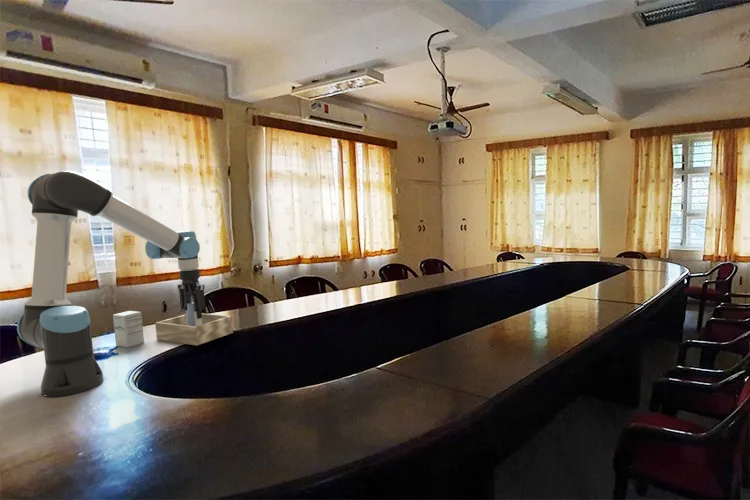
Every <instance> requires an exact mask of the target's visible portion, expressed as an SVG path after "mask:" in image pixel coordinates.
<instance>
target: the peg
mask: <svg viewBox="0 0 750 500" xmlns="http://www.w3.org/2000/svg"><path fill="white" fill-rule="evenodd" d="M194 310H195V307H194V303H193V301H191V303H187V311H188V321H189V326H195V317H194Z"/></svg>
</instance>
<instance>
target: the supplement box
mask: <svg viewBox="0 0 750 500" xmlns="http://www.w3.org/2000/svg"><path fill="white" fill-rule="evenodd" d="M112 318H113V319H112V321H113V327H114V328H113V329H114V337H115V339H114V340H115V346H116V347H124V348H131V347H135V346H137V345H141V344H143V343H145V339H144V338H145V337H144V327H143V325H144V324H143V317H142V312H141V311H135V310H127V311H122V312H118V313H114V314H112Z"/></svg>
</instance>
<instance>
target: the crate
mask: <svg viewBox="0 0 750 500" xmlns="http://www.w3.org/2000/svg"><path fill="white" fill-rule="evenodd" d="M233 323H234V322H233V316H232V315H223V314H222V315H221V314H216V313H215V314H213V313H203V312H202V325H199V326H187V319H186V314H182V315H179V316H175V317H171V318H168V319H164V320H161V321H160V320H159V321H156V322H155V323H154V324H155V333H156V340H157V341H163V342H164V341H165V342H170V343H171V342H172V343H177V344H178V343H179V344H183V343H184V344H185V345H190V346H191V345H192V346H199V345H202V344H205V343H208V342H210V341H214V340H216V339H219V338H222V337H224V336H229V335H230V334H233V333H234V325H233Z"/></svg>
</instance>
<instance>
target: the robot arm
mask: <svg viewBox="0 0 750 500" xmlns="http://www.w3.org/2000/svg"><path fill="white" fill-rule="evenodd" d="M27 198H28V200H29V202H30V204H31V205H32V206H31V215H32V217H33V218H35V219H36V235H35V248H34V249H35V251H34V260H33V261H34V262H33V275H32V284H31V285H32V287H31V297H30V299H28V300H27V301H26V302H25V303H24V306H23V307H24V309H23V314H22V315H21V316H20V317H19V319H18V321H17V324H16V331H17V335H19V337H20V339H21V340H22V341H23V342H25V343H26V344H28V345H30V346H32V347H37V348H41V349H43V354H44V362H45V369H44V373H43V376H42V380H41V385H40V391H41V395H42V394H43V395H46V396H58V397H64V396H63V395H65V396H69V395H70V394H71V395H75V394H79V393H83V392H86V391H87V390H90V389H93V388H96V387H97V386H99V385H101V384H102V383H103V382H104V373H103V371H102V369H101V367H100V365H99V364H98V362H97V360H96V358H95V354H94V346H93V345H94V344H93V337H92V329H91V317H90V315H89V311H88V309H87V308H86V307H84V306H80V305H79V306H78V305H72V302H71V301H70V300H69V299H67V285H68V273H69V272H68V270H69V256H70V245H71V244H70V242H71V233H72V232H71V231H72V223H73V222H74V221H76V220H77V219H78V216H79V215H78V214H79V211H80V212H84V213H85V214H88V215H90V216H91V217H98V216H99V217H101V218H103V219H105V220H107V221H108V222H111V223H112V224H114V225H116V226H118V227H121V228H122V229H124V230H126V231H128V232H129V233H132V234H134V235H136V236H137V237H139V238H142V239H143V240H145V241H147V242H146V243H145V248H144V249H145V254H146V256H147V257H148V258H149V259H151V260H159V259H177V264H178V269H179V271H178V273H179V280H181V283H180V284H177V288H178V289H177V290H178V292H179V303H180V308H181V309H183V310H184V313H185V314H184V315H186V319H187V326H189V321H188V311H187V303H191V302H193V303H194V307H195V310H194V317H195V326H199V325H202V313H203V312H202V310H204V309H206V303H205V302H206V299H205V284H200V282H199V279H200V277H201V276H200V275H201V274H200V268H199V267H200V266H199V265H200V264H199V263H200V262H199V253H200V251H201V250H200V249H201V246H200V245H201V244H200V243H199V241H198V240H197V236H196V235H197V234H196V232H195V231H194V230H187V231H185V230H184V231H175V230H173V229H172V228H170V227H168V226H167V225H165V224H163V223H161V222H159V221H158V220H156V219H154V218H153V217H151V216H149V215H147V214H146V213H144V212H142V211H140V210H139V209H137V208H135V207H134V206H132V205H130V204H129V203H127V202H125V201H123V200H122V199H120V198H119V197H117V196H114V195H113V191H112V190H111V189H109V188H108V187H106V186H104V185H102V184H101V183H99V182H97V181H96V180H94V179H92V178H90V177H88V176H86V175H84V174H82V173H80V172H77V171H73V170H72V171H71V170H62V171H57V172H54V173H45V174H41V175H40V176H38V177H37V178H35V179H34V180H33V181H31V183H30V184H29V186H28V188H27ZM43 395H42V396H43ZM71 395H70V396H71ZM46 396H45V397H46Z"/></svg>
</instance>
